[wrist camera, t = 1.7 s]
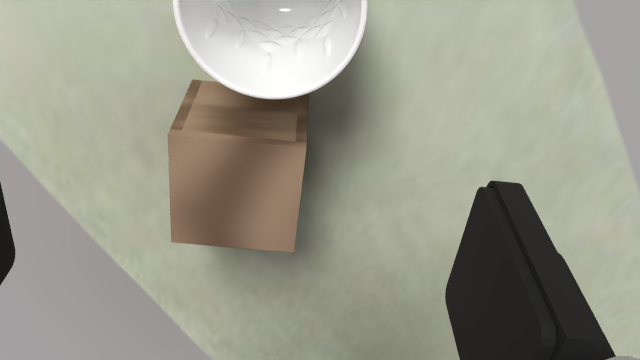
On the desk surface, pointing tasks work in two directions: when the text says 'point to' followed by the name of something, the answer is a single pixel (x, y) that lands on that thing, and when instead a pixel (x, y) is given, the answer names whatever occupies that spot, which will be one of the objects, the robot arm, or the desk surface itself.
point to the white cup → (271, 42)
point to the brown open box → (236, 168)
